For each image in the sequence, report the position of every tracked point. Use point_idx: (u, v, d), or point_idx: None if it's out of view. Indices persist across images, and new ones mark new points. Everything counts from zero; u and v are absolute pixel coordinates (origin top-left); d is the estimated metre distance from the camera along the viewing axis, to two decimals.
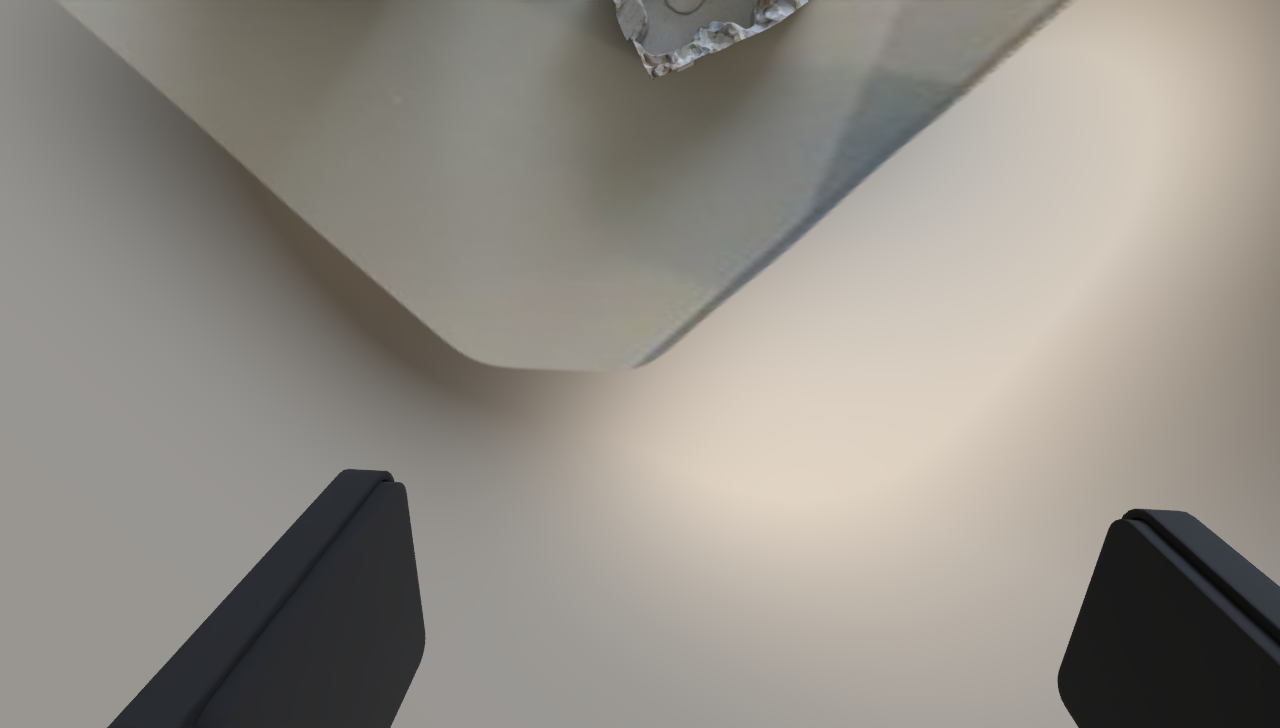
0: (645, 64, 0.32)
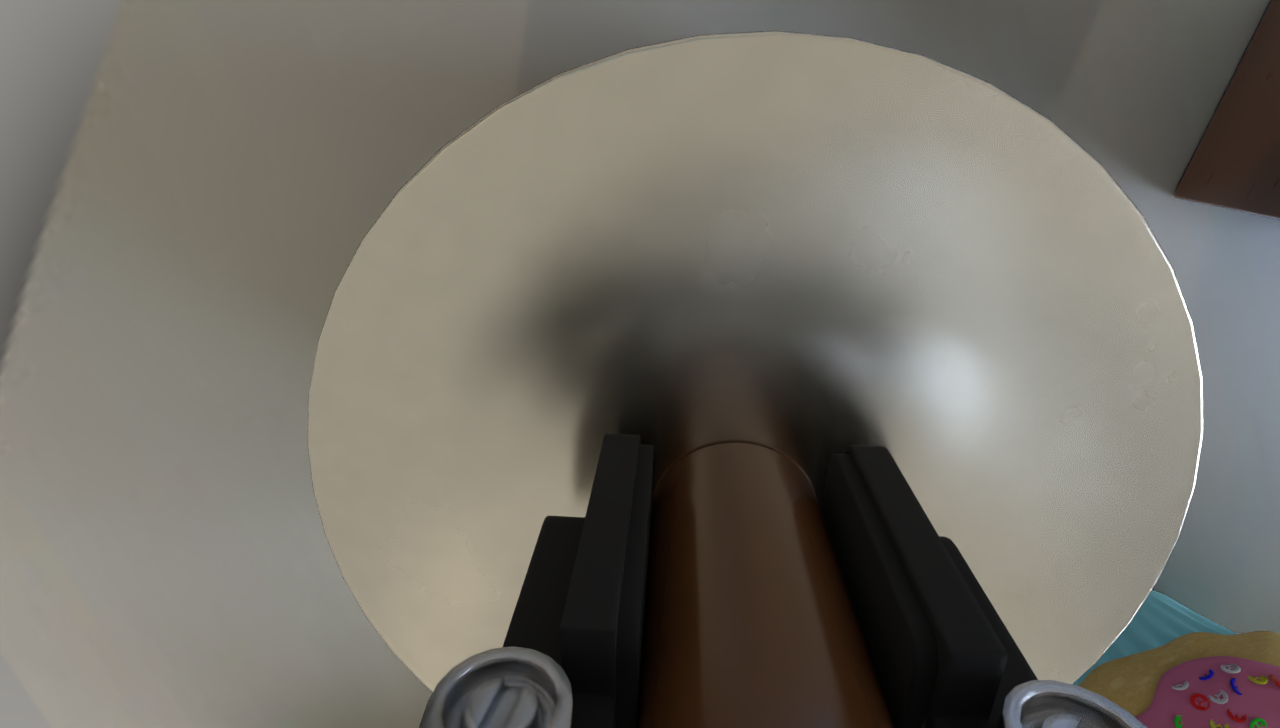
0: None
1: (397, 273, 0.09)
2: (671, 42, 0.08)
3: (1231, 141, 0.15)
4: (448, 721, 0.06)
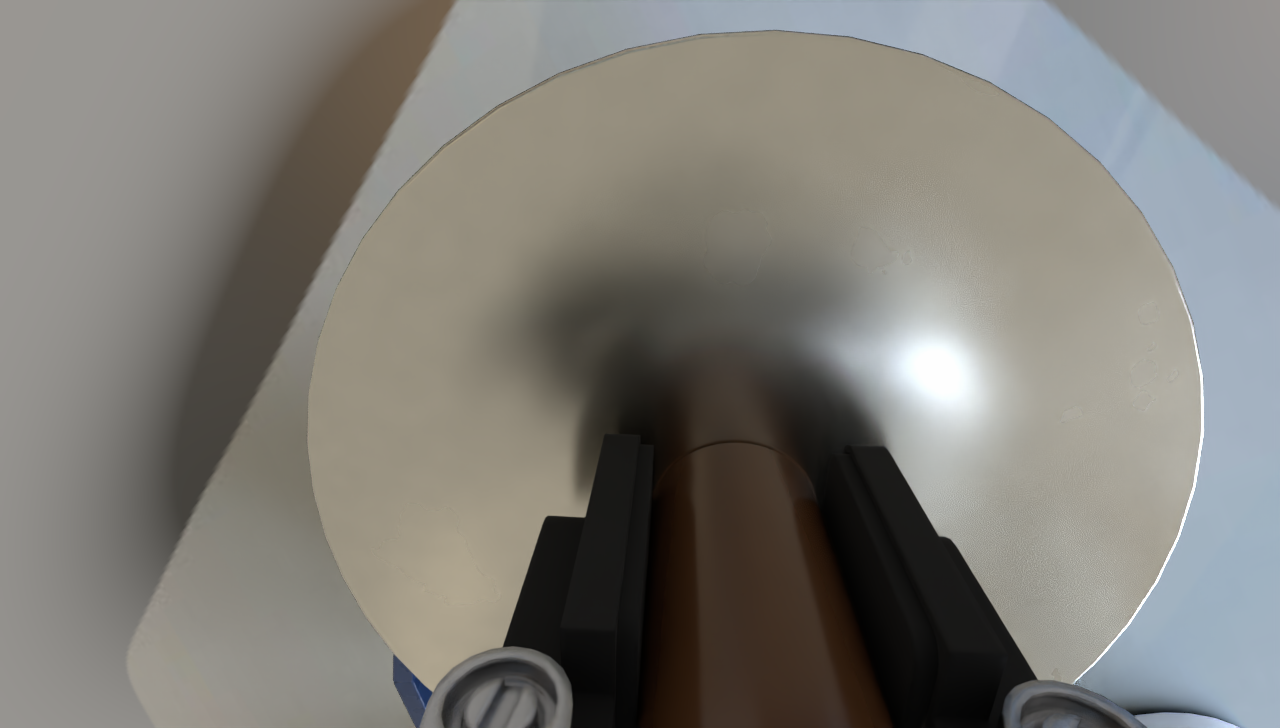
0: None
1: (396, 273, 0.09)
2: (671, 41, 0.08)
3: None
4: (448, 721, 0.06)
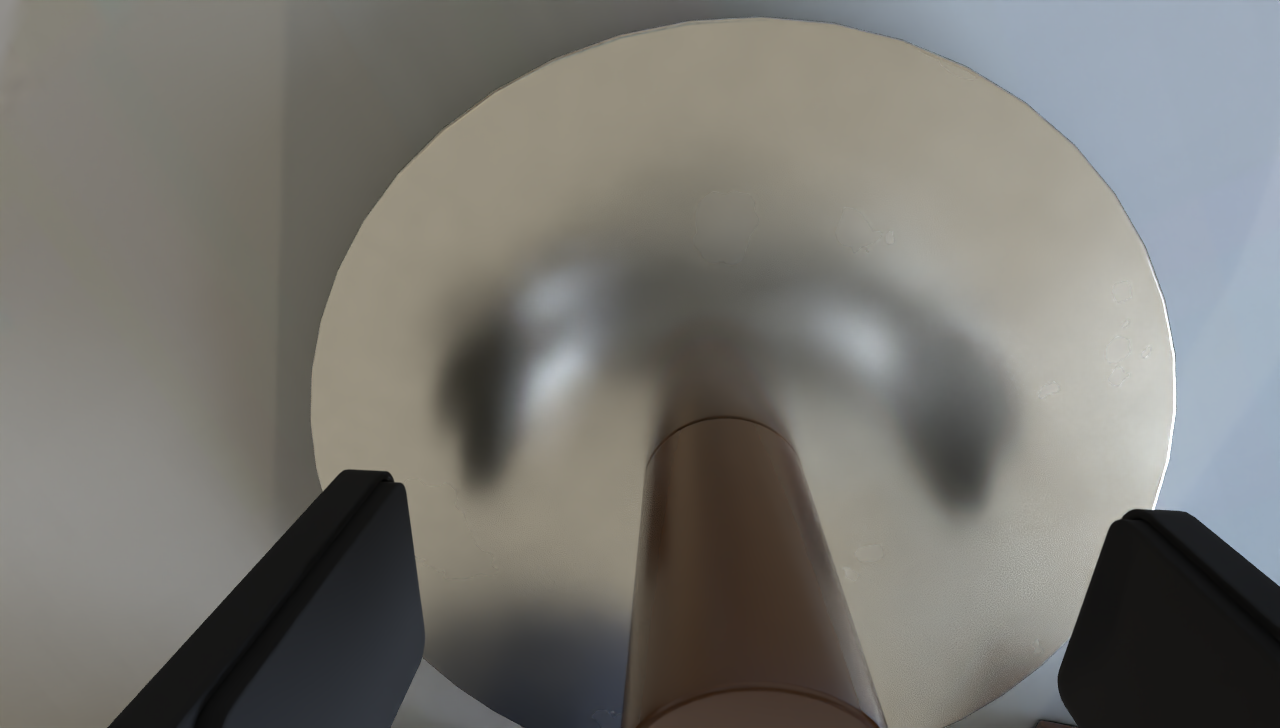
0: None
1: (397, 253, 0.09)
2: (661, 27, 0.08)
3: None
4: None
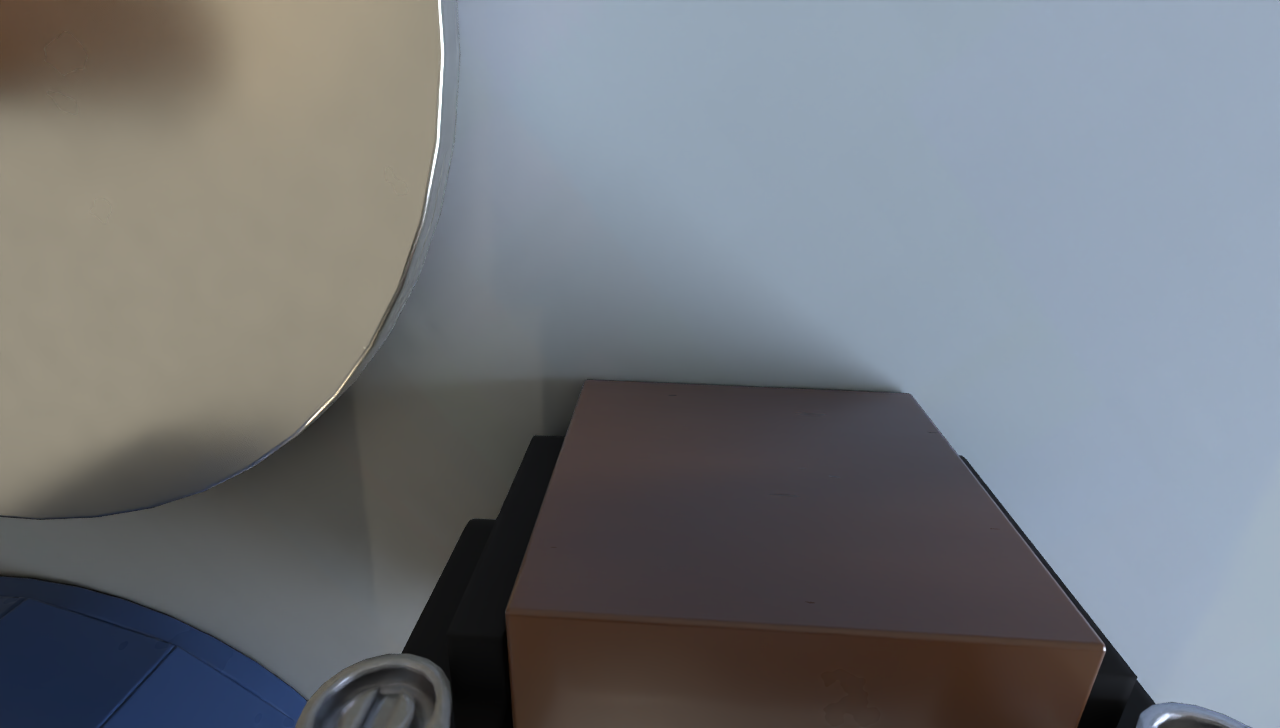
0: None
1: None
2: None
3: None
4: None
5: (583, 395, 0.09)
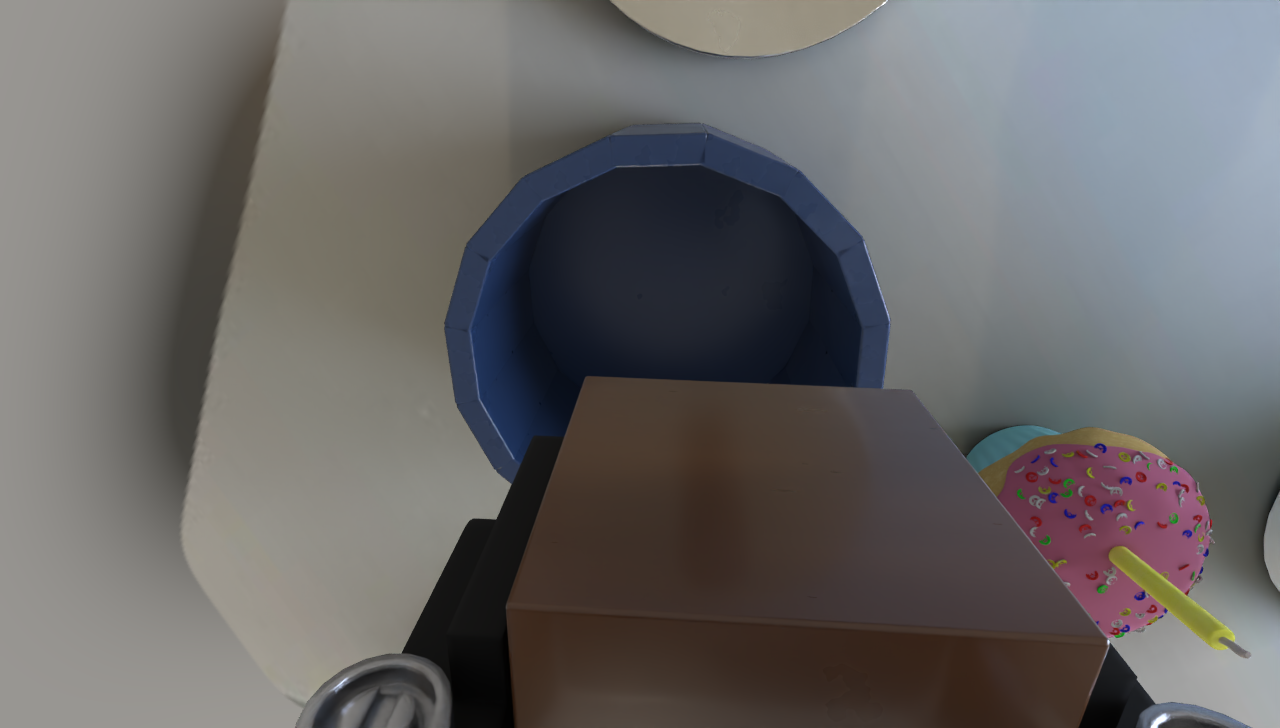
0: None
1: None
2: None
3: None
4: None
5: (584, 391, 0.09)
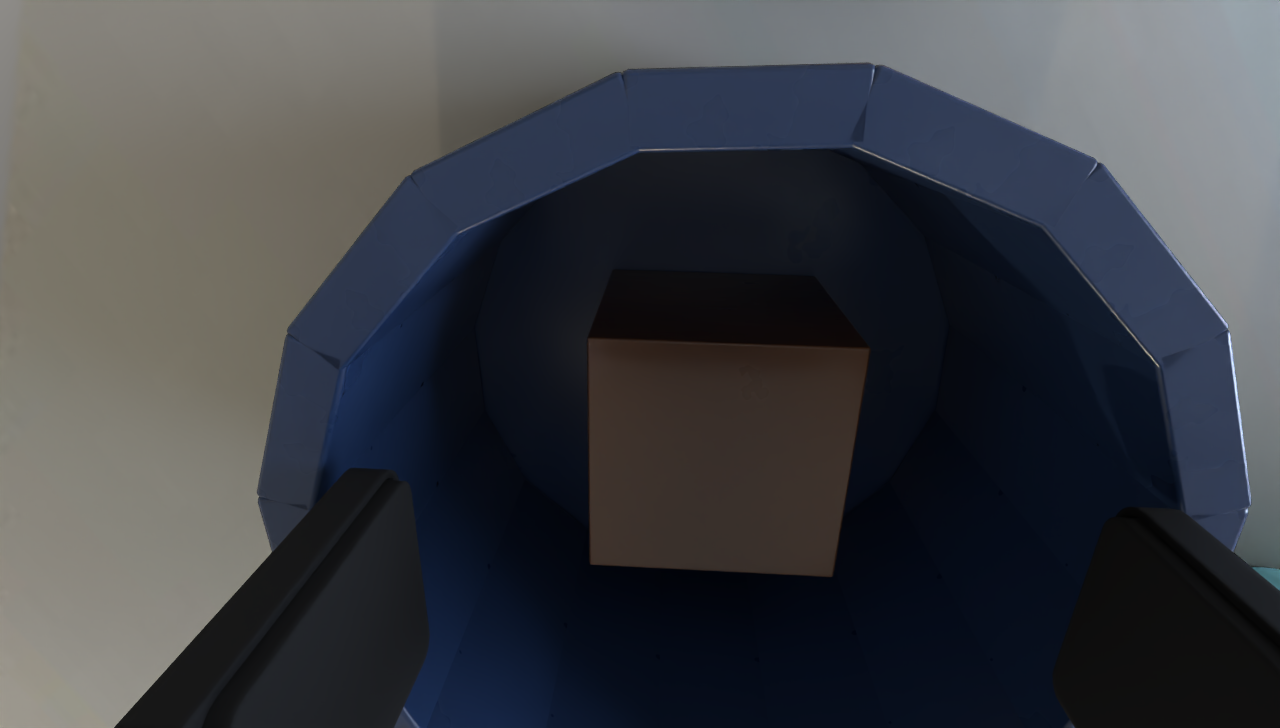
0: None
1: None
2: None
3: None
4: None
5: (613, 275, 0.14)
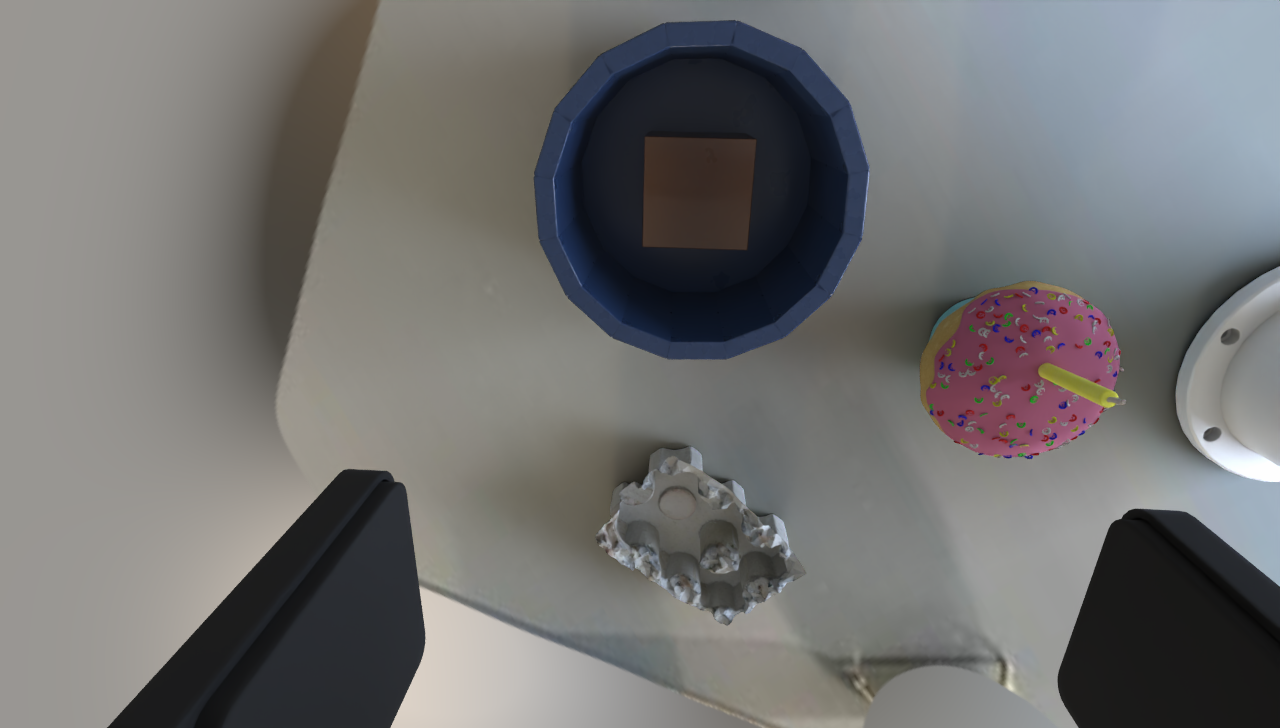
0: (605, 524, 0.37)
1: None
2: None
3: None
4: None
5: (650, 131, 0.31)
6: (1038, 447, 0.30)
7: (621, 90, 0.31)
